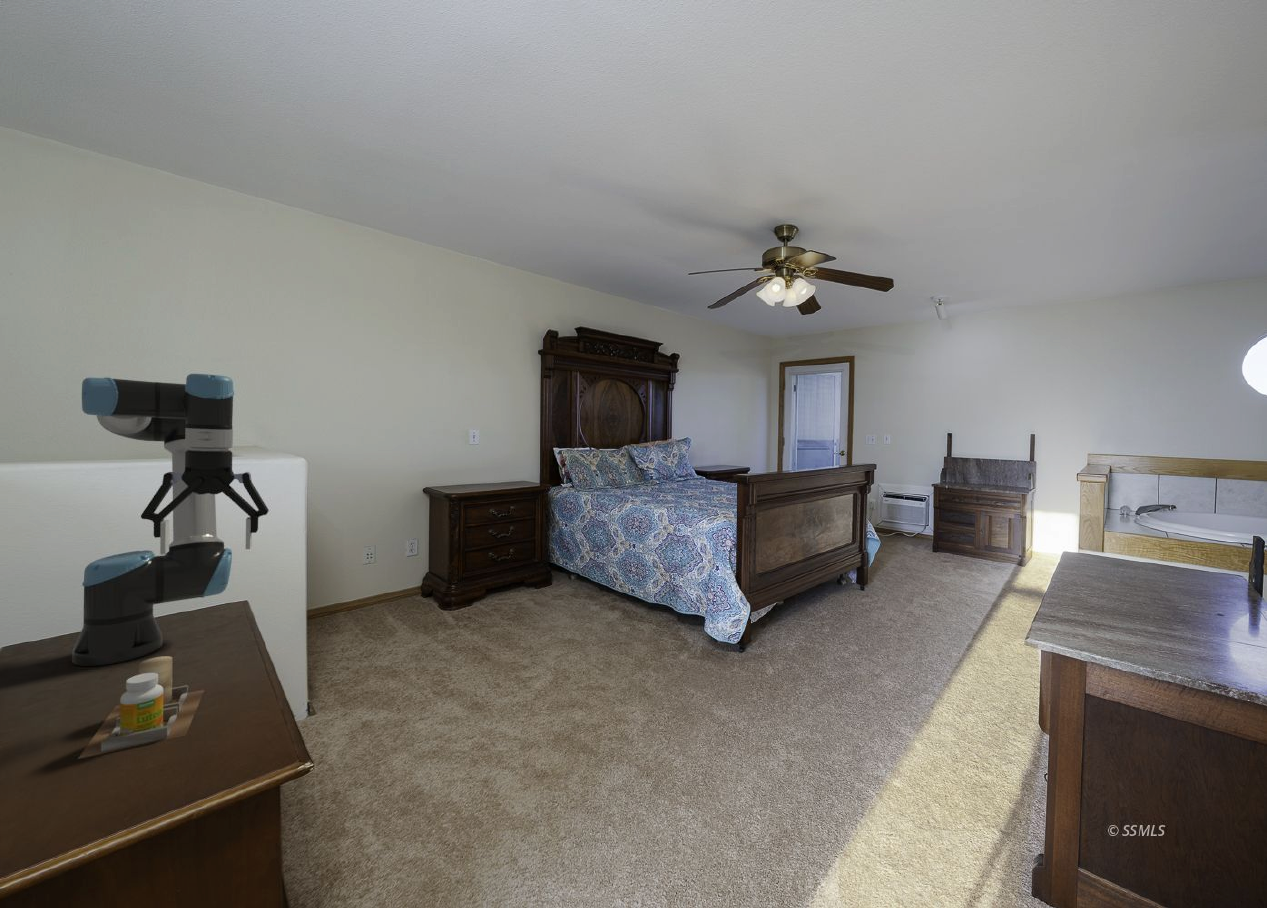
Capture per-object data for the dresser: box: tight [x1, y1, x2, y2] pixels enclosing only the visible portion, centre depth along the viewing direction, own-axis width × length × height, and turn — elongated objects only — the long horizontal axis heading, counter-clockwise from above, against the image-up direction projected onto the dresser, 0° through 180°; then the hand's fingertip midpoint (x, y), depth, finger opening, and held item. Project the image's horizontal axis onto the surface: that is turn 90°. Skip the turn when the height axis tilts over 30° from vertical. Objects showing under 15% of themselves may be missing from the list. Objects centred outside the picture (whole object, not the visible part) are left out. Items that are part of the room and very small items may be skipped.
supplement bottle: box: [119, 673, 163, 735], centre depth 87 cm, size 5×5×10 cm
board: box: [77, 684, 205, 760], centre depth 91 cm, size 18×13×3 cm
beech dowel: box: [138, 655, 173, 705], centre depth 95 cm, size 5×5×9 cm
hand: (208, 550), depth 106 cm, fingers open, 13 cm apart
